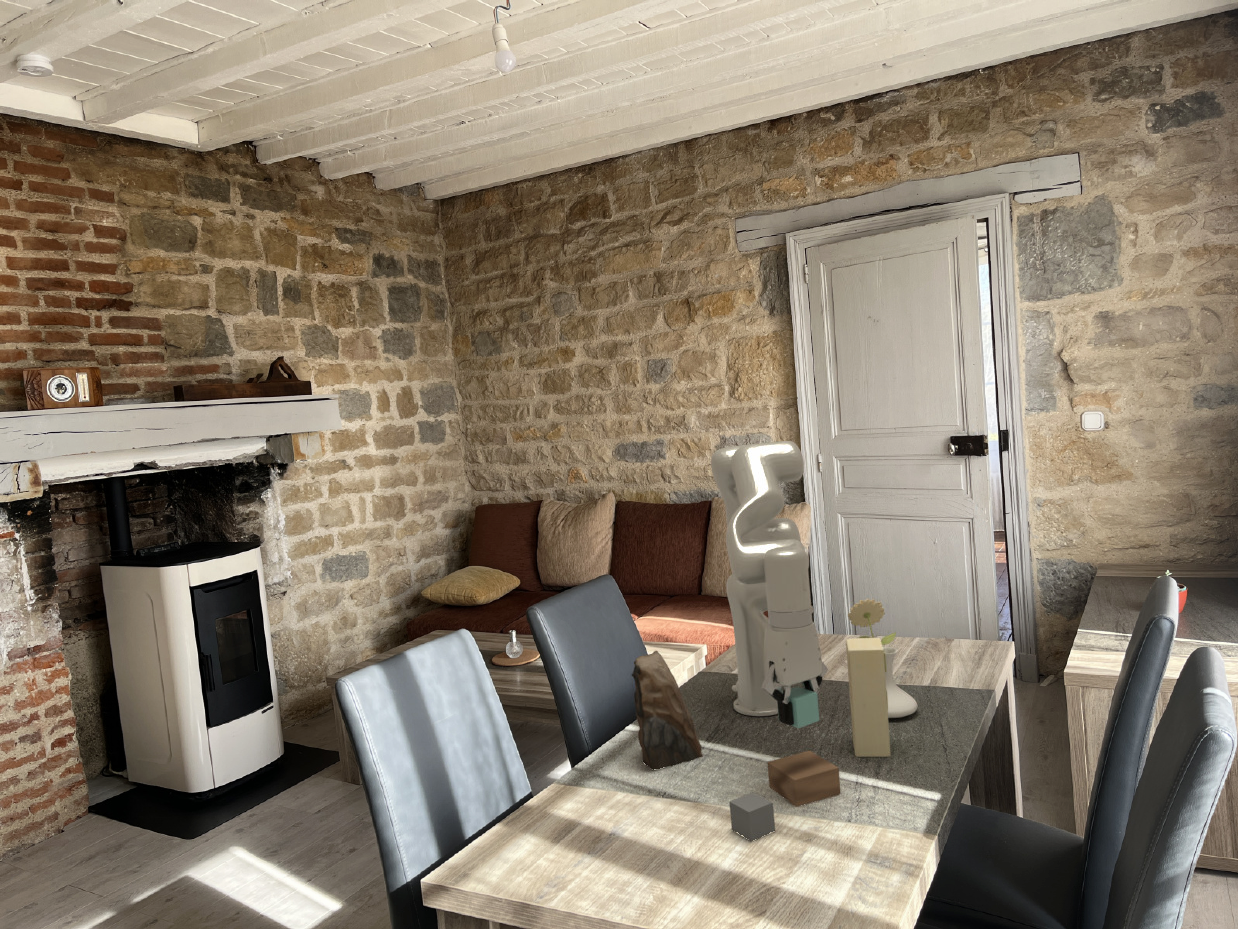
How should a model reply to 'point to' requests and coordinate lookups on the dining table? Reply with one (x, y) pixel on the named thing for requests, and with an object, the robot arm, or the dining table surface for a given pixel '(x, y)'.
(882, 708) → the tall cream block
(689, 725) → the brown rock
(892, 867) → the dining table surface
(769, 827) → the grey cube
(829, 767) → the walnut block
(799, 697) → the teal cube
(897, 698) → the flower in vase
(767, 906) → the dining table surface
